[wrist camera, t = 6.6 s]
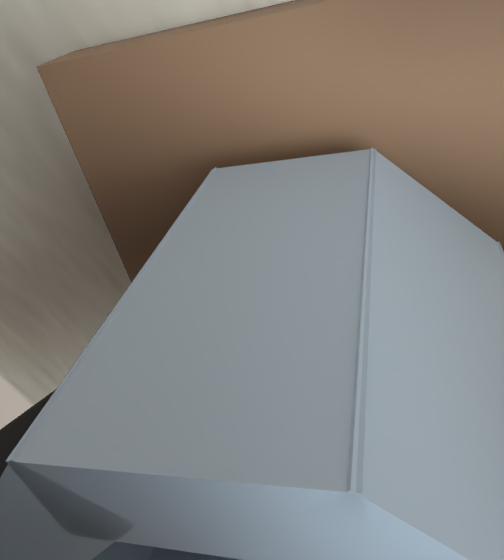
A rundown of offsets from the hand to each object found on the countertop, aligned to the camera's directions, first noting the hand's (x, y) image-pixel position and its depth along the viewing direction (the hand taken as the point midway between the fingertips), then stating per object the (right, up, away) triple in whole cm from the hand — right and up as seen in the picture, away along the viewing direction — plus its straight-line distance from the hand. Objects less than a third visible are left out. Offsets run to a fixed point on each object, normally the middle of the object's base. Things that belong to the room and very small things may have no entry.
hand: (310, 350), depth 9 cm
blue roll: (0, +1, +1) cm, 1 cm away
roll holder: (+1, +2, +3) cm, 4 cm away
